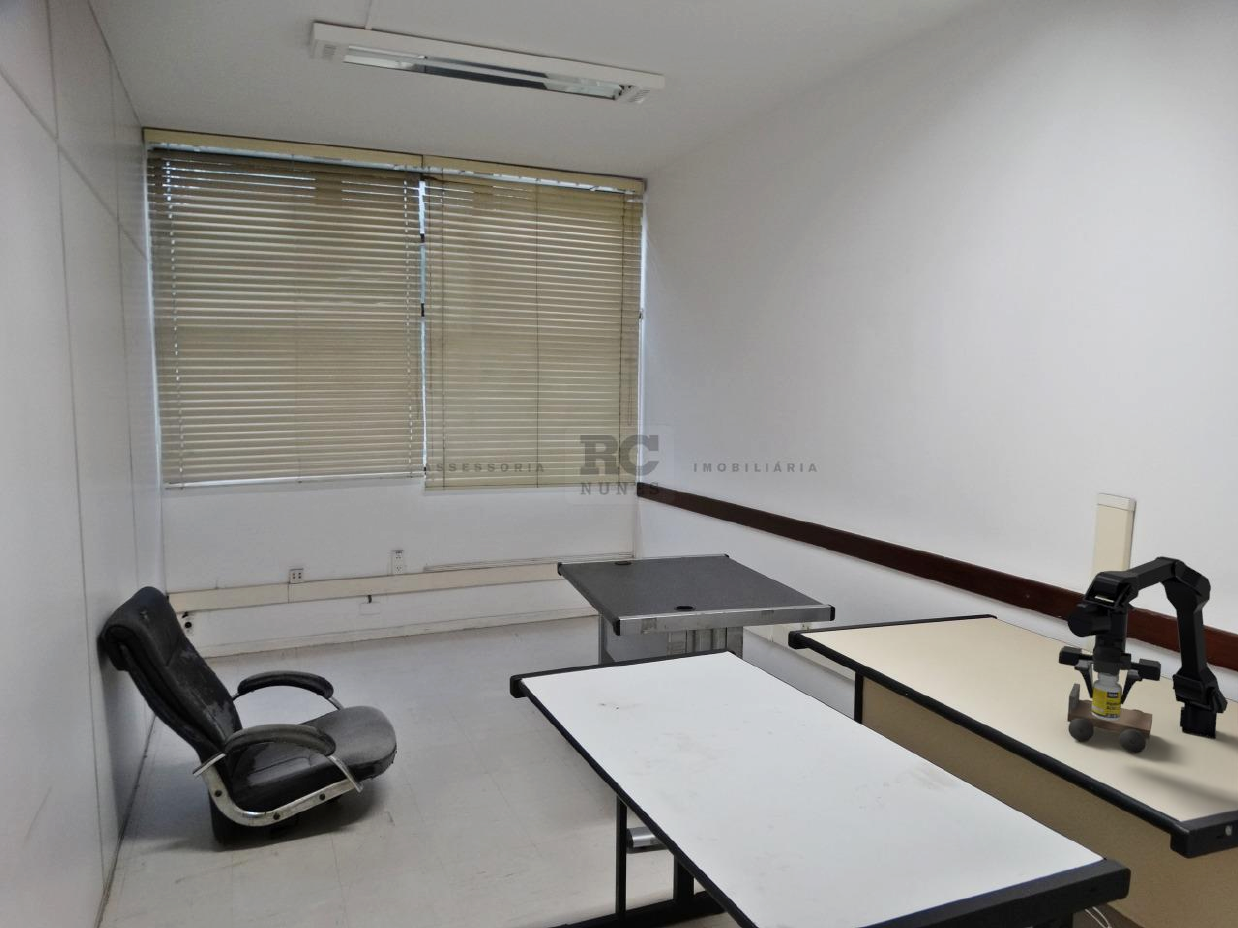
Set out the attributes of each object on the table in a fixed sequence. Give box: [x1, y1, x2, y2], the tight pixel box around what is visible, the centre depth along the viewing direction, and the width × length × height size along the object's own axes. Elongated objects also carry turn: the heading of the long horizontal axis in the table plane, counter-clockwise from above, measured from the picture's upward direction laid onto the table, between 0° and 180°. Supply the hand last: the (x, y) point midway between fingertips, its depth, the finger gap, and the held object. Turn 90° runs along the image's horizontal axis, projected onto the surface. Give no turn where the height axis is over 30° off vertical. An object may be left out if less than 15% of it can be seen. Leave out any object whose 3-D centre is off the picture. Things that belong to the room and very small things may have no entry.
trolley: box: [1066, 682, 1153, 754], centre depth 187 cm, size 16×15×9 cm
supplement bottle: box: [1091, 672, 1123, 721], centre depth 175 cm, size 5×5×10 cm
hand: (1106, 700), depth 176 cm, fingers closed on supplement bottle, 5 cm apart
